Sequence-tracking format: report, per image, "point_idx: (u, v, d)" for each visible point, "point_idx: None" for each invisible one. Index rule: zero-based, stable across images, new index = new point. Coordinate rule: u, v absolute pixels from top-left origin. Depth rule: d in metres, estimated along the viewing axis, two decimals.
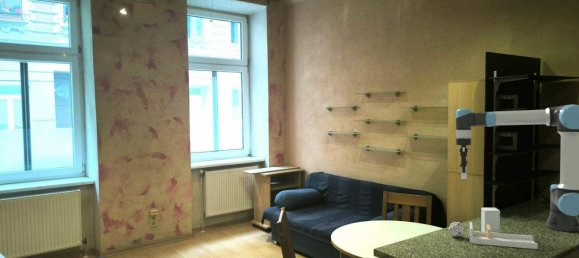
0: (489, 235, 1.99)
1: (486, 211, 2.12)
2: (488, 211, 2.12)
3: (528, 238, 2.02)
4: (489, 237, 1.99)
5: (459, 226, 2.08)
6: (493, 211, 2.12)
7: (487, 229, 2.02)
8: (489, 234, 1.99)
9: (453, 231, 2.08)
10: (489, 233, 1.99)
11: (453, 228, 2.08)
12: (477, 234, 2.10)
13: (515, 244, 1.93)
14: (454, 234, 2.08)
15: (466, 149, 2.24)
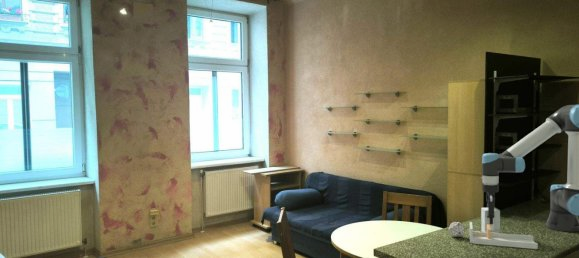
0: (489, 235, 1.99)
1: (486, 211, 2.12)
2: None
3: (528, 238, 2.02)
4: (489, 237, 1.99)
5: (459, 226, 2.08)
6: None
7: (487, 229, 2.02)
8: (489, 234, 1.99)
9: (453, 231, 2.08)
10: (489, 233, 1.99)
11: (453, 228, 2.08)
12: (477, 234, 2.10)
13: (515, 244, 1.93)
14: (454, 234, 2.08)
15: (493, 196, 2.13)
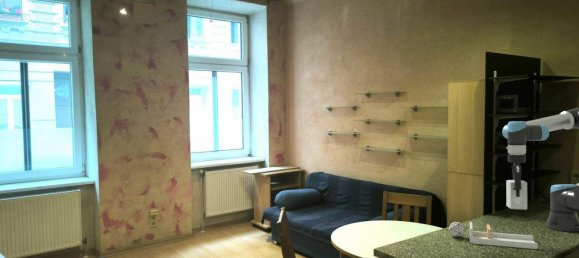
0: (489, 235, 1.99)
1: (512, 183, 1.97)
2: (514, 183, 1.97)
3: (528, 238, 2.02)
4: (489, 237, 1.99)
5: (459, 226, 2.08)
6: None
7: (487, 229, 2.02)
8: (489, 234, 1.99)
9: (453, 231, 2.08)
10: (489, 233, 1.99)
11: (453, 228, 2.08)
12: (477, 234, 2.10)
13: (515, 244, 1.93)
14: (454, 234, 2.08)
15: (520, 167, 1.97)
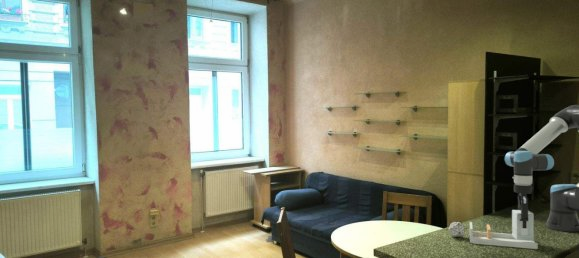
0: (489, 235, 1.99)
1: (518, 214, 1.94)
2: None
3: None
4: (489, 237, 1.99)
5: (459, 226, 2.08)
6: None
7: (487, 229, 2.02)
8: (489, 234, 1.99)
9: (453, 231, 2.08)
10: (489, 233, 1.99)
11: (453, 228, 2.08)
12: (477, 234, 2.10)
13: (515, 244, 1.93)
14: (454, 234, 2.08)
15: None
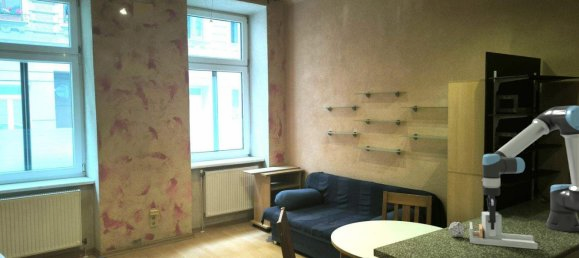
0: (481, 234, 2.00)
1: (487, 216, 1.99)
2: None
3: (528, 238, 2.02)
4: (481, 236, 2.00)
5: (459, 226, 2.08)
6: None
7: (479, 228, 2.03)
8: (481, 233, 2.00)
9: (453, 231, 2.08)
10: (481, 232, 2.00)
11: (453, 228, 2.08)
12: (477, 234, 2.10)
13: (515, 244, 1.93)
14: (454, 234, 2.08)
15: (495, 200, 2.00)
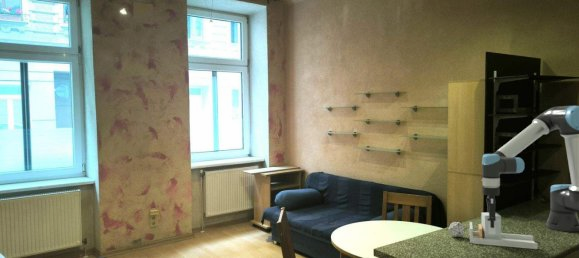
0: (480, 234, 2.00)
1: (486, 216, 2.00)
2: (488, 216, 1.99)
3: (528, 238, 2.02)
4: (480, 236, 2.00)
5: (459, 226, 2.08)
6: None
7: (479, 228, 2.03)
8: (480, 233, 2.00)
9: (453, 231, 2.08)
10: (480, 232, 2.00)
11: (453, 228, 2.08)
12: (477, 234, 2.10)
13: (515, 244, 1.93)
14: (454, 234, 2.08)
15: (494, 200, 2.00)
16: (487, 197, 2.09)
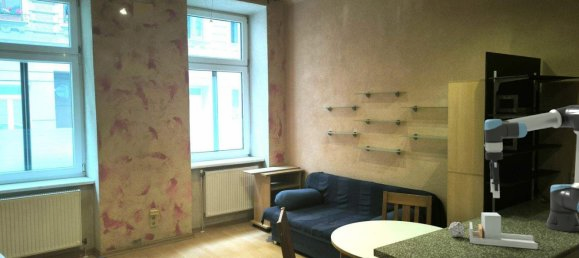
0: (480, 234, 2.00)
1: (486, 216, 2.00)
2: (488, 216, 1.99)
3: (528, 238, 2.02)
4: (480, 236, 2.00)
5: (459, 226, 2.08)
6: (494, 216, 1.99)
7: (479, 228, 2.03)
8: (480, 233, 2.00)
9: (453, 231, 2.08)
10: (480, 232, 2.00)
11: (453, 228, 2.08)
12: (477, 234, 2.10)
13: (515, 244, 1.93)
14: (454, 234, 2.08)
15: None
16: (490, 163, 2.10)
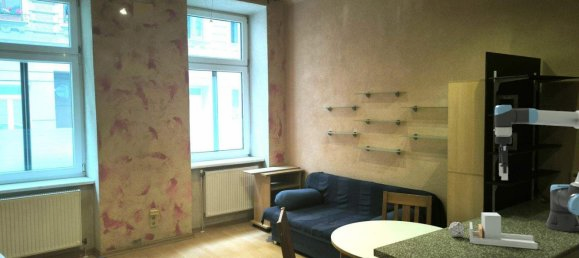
0: (480, 234, 2.00)
1: (486, 216, 2.00)
2: (488, 216, 1.99)
3: (528, 238, 2.02)
4: (480, 236, 2.00)
5: (459, 226, 2.08)
6: (494, 216, 1.99)
7: (479, 228, 2.03)
8: (480, 233, 2.00)
9: (453, 231, 2.08)
10: (480, 232, 2.00)
11: (453, 228, 2.08)
12: (477, 234, 2.10)
13: (515, 244, 1.93)
14: (454, 234, 2.08)
15: (506, 148, 2.10)
16: (499, 147, 2.18)
